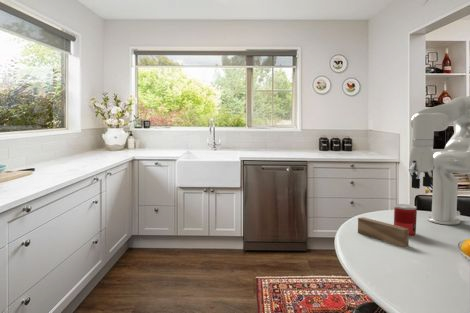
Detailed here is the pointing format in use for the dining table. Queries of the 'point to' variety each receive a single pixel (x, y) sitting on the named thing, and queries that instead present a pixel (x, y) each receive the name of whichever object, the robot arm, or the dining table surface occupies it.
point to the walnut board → (383, 231)
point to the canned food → (406, 217)
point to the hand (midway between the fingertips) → (421, 187)
